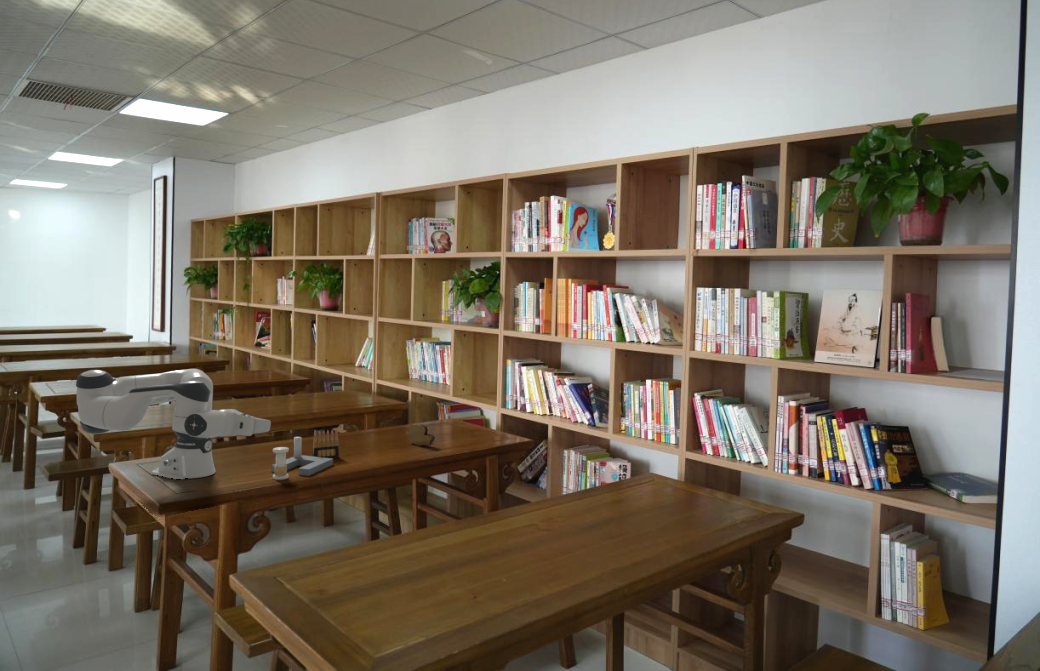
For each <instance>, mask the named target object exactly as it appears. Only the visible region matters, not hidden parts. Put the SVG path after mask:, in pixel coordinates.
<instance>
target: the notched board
mask: <svg viewBox="0 0 1040 671" xmlns="http://www.w3.org/2000/svg"><path fill="white" fill-rule="evenodd" d="M302 442H303V438H302V437H301V436H294V437H293V456H292V457H289V458H286V465H287V471H289V470H291V469H294V468H295V467H298V466H300V465H301V466H300V467H299V468H298V475H300V476H305V477H306V476H308V477H309V476H311V475H313V474H316V473H318V472H320V471H322V470H324V469H326V468H329V467H332V466H333V465H334V458H323V457H313V456H312V455H303V453H302V452H303V451H302V449H303V447H302V446H303V443H302ZM275 465H276V463H273V464H272V465H271V472H272V473H274V470H275Z"/></svg>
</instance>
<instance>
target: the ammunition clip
mask: <svg viewBox="0 0 1040 671" xmlns="http://www.w3.org/2000/svg"><path fill="white" fill-rule="evenodd" d="M339 447H340V446H339V433H338V429H335V432H334V430H333V429H331V432H330V431H329V429H327V431H326V432H325V429H323V430H322V433H321V430H318V433H317V431H316V430H314V434H313V441H312V455H311V456H313V457H323V458H332V459H339V458H340V453H339V452H340V450H339Z"/></svg>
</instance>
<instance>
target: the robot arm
mask: <svg viewBox="0 0 1040 671" xmlns="http://www.w3.org/2000/svg"><path fill="white" fill-rule="evenodd" d="M75 387H76V405H77V409H78V412H77V413H78V414H77V415H78V419H79V423H80V426H81V429H82V430H83V431H84V432H86V433H87V434H91V435H92V434H93V435H98V434H104V433H107V432H110V431H117V432H119V431H121V432H123V431H129V430H132V429H134V428H135V427H136V426H138V425H139V424H140V423H141V422H142V421H143V418H144V417H145V415H146V412H147V411H148V409H149V407H150V406H152V405H160V404H161V405H162V404H165V403H169V402H173V401H174V410H173V417H172V425H171V426H172V432H173V433H174V434H175V435H176V436H177V437H175V438H172V441H171V442H172V443H174V446H173V447H172V448H171V449H169V450H168V451H166V452H165V453H164V454H163V455H162V456H160V459H159V462H158V467H156V468H154V469H153V470H152V471H151V475H154V476H157V475H158V477H162V476H163V477H164V478H167V479H171V478H173V479H172V480H176V479H181V480H185V478H188V479H198V478H204V477H209V476H211V475H214V474H216V473H217V472H216V468H215V465H214V459H213V453H212V452H213V451H212V449H213V438H217V437H235V436H242V437H244V436H245V437H251V436H252V435H253V434H254V435H256V434H263V433H268V432H269V431H270V430H271V427H272V422H271V420H270V419H264V418H261V417H260V418H259V417H255V416H254V415H253V416H252V415H249V414H245V413H244V412H241V411H239V410H237V409H234V408H229V409H227V408H225V409H218V410H217V409H213V408H212V407H213V399H214V398H213V397H214V383H213V380H212V379H211V378H210V376H209V375H207V374H206V373H205V372H204V371H203V370H202V369H198V368H188V369H180V370H171V371H166V372H160V373H150V374H149V373H148V374H138V375H137V374H136V375H128V376H122V377H117V378H115V377H113V376H112V374H110V372H107V371H105V370H100V369H89V370H87V371H83V372H81V373H80V374H79V375H77V376H76V382H75ZM163 477H162V478H163Z"/></svg>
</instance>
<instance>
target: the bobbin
mask: <svg viewBox="0 0 1040 671" xmlns="http://www.w3.org/2000/svg"><path fill="white" fill-rule="evenodd" d="M289 449H290V448H289V447H287V446H279V447H274V448H272V453H274V454H275V464H276V465H275V470H274V472H273V474H272V479H273V480H276V481H282V480H283V481H284V480H287V479H289V478H290V476H289V473H288V470H287V465H286V459H287V453H289Z"/></svg>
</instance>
